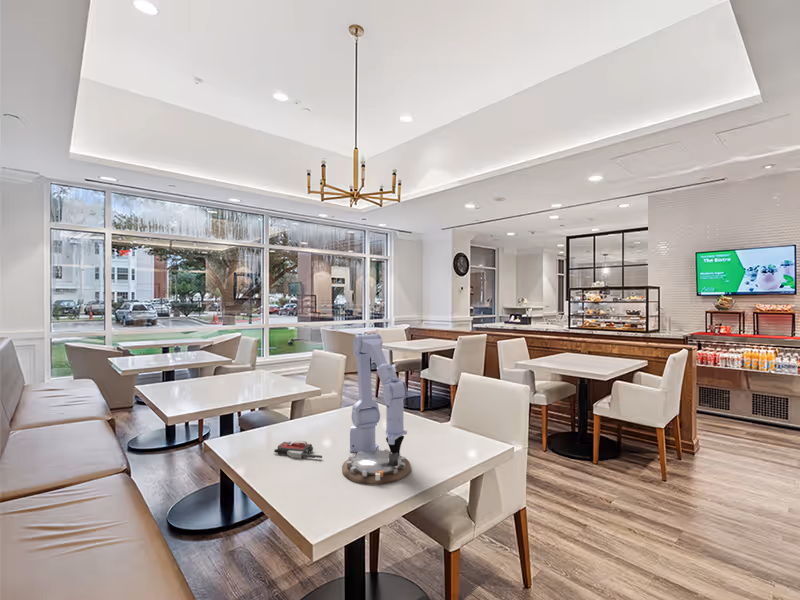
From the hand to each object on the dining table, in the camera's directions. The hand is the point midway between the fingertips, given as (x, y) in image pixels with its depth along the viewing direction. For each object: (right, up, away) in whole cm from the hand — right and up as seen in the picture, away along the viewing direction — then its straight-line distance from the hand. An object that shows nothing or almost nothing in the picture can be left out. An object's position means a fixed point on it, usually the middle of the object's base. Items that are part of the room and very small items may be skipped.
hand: (395, 458), depth 133 cm
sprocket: (-6, -3, +2) cm, 7 cm away
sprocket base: (-6, -4, +2) cm, 8 cm away
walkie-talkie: (-35, -5, +15) cm, 38 cm away
